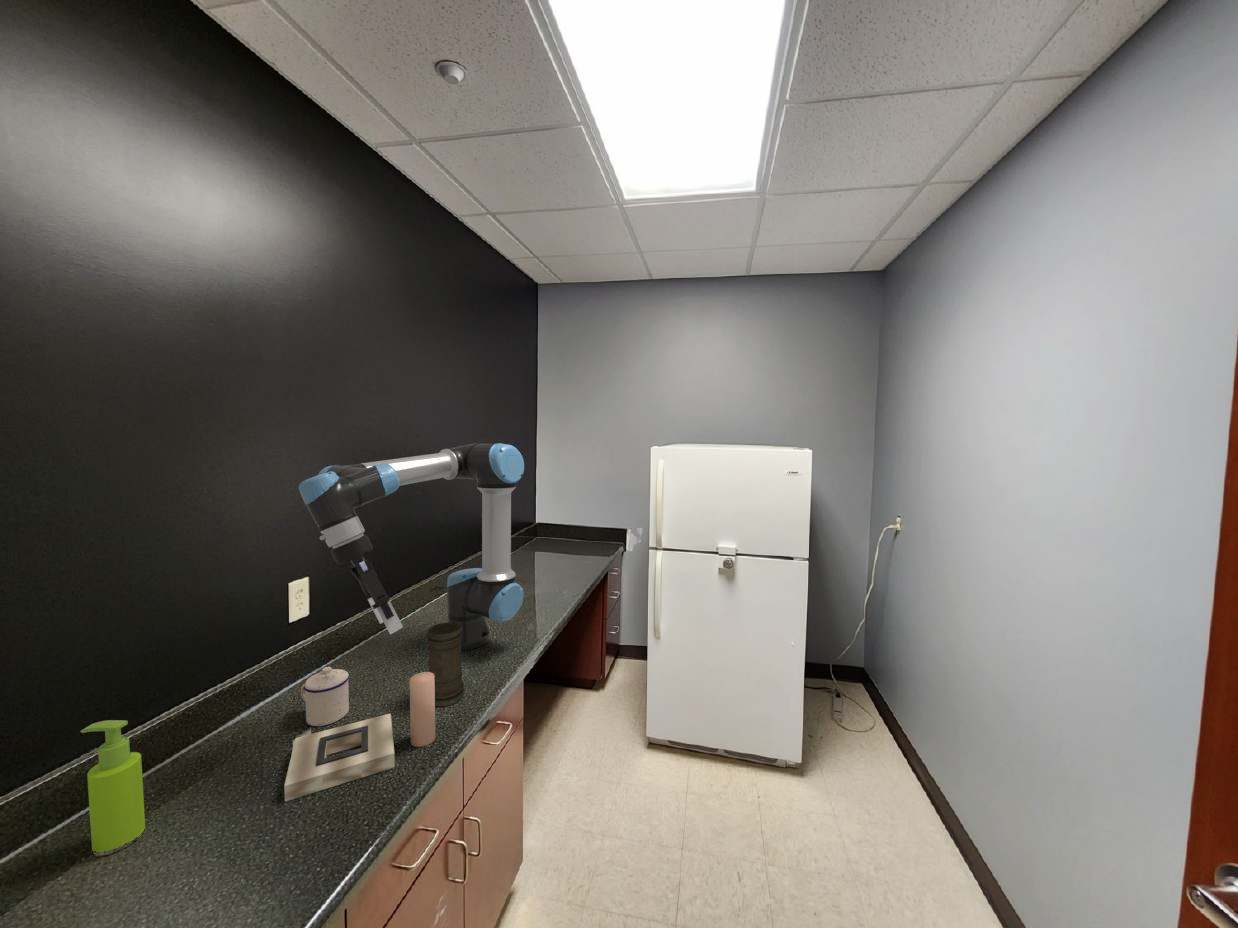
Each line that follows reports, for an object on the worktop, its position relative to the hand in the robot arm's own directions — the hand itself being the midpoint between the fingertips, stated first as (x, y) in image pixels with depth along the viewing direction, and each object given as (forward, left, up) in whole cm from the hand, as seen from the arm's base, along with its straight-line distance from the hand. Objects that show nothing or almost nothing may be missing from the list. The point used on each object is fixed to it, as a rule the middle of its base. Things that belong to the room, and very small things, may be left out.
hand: (391, 625), depth 102 cm
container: (-13, -8, -24) cm, 29 cm away
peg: (-6, +7, -24) cm, 26 cm away
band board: (+9, +6, -24) cm, 27 cm away
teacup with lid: (+14, -14, -24) cm, 32 cm away
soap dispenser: (+41, +10, -24) cm, 49 cm away
